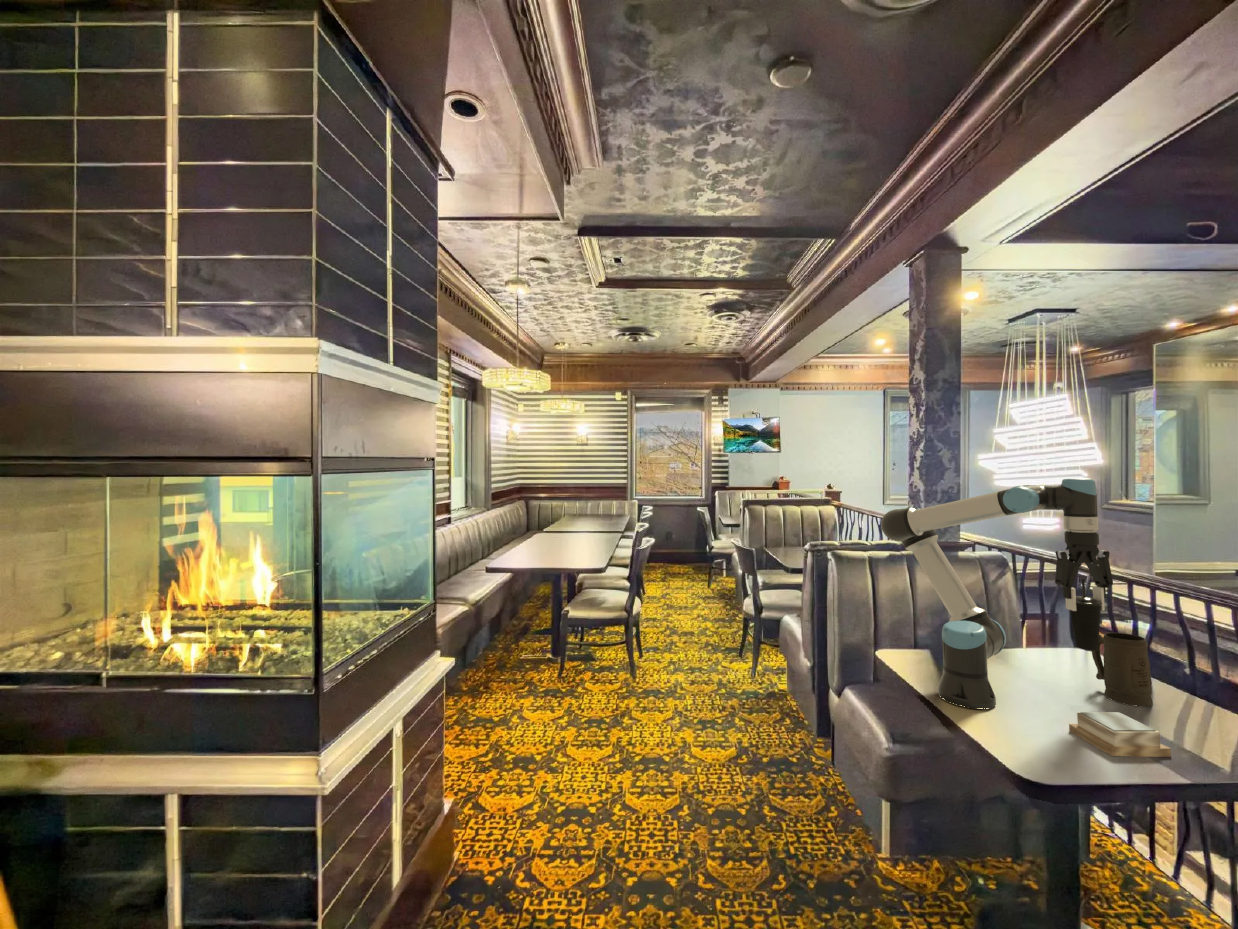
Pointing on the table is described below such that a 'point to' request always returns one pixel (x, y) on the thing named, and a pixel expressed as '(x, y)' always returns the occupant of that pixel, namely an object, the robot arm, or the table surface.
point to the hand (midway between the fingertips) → (1085, 609)
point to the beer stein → (1125, 668)
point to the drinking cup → (1086, 621)
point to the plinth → (1120, 749)
